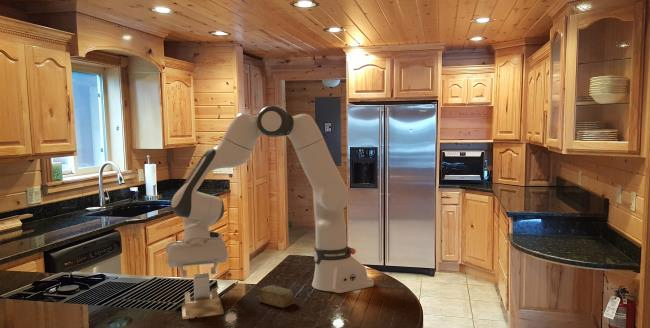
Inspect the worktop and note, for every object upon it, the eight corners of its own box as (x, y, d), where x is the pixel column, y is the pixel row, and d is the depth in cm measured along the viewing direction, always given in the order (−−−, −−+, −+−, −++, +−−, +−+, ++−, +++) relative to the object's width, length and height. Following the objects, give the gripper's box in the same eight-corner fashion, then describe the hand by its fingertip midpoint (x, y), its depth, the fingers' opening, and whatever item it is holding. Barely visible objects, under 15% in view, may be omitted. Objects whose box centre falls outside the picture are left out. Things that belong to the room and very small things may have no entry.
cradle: (219, 300, 149) (219, 288, 149) (223, 314, 138) (223, 300, 137) (181, 305, 145) (181, 292, 145) (182, 319, 134) (182, 305, 134)
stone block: (284, 310, 141) (284, 294, 141) (257, 303, 147) (257, 288, 147) (295, 304, 146) (295, 289, 145) (269, 297, 152) (268, 283, 152)
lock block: (208, 303, 145) (208, 272, 144) (210, 308, 140) (209, 277, 139) (194, 304, 143) (193, 274, 143) (195, 310, 139) (194, 278, 138)
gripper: (165, 237, 155) (166, 273, 146) (226, 233, 161) (230, 267, 153) (166, 247, 159) (166, 282, 151) (224, 242, 166) (228, 276, 157)
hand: (199, 274), depth 152 cm, fingers open, 8 cm apart
